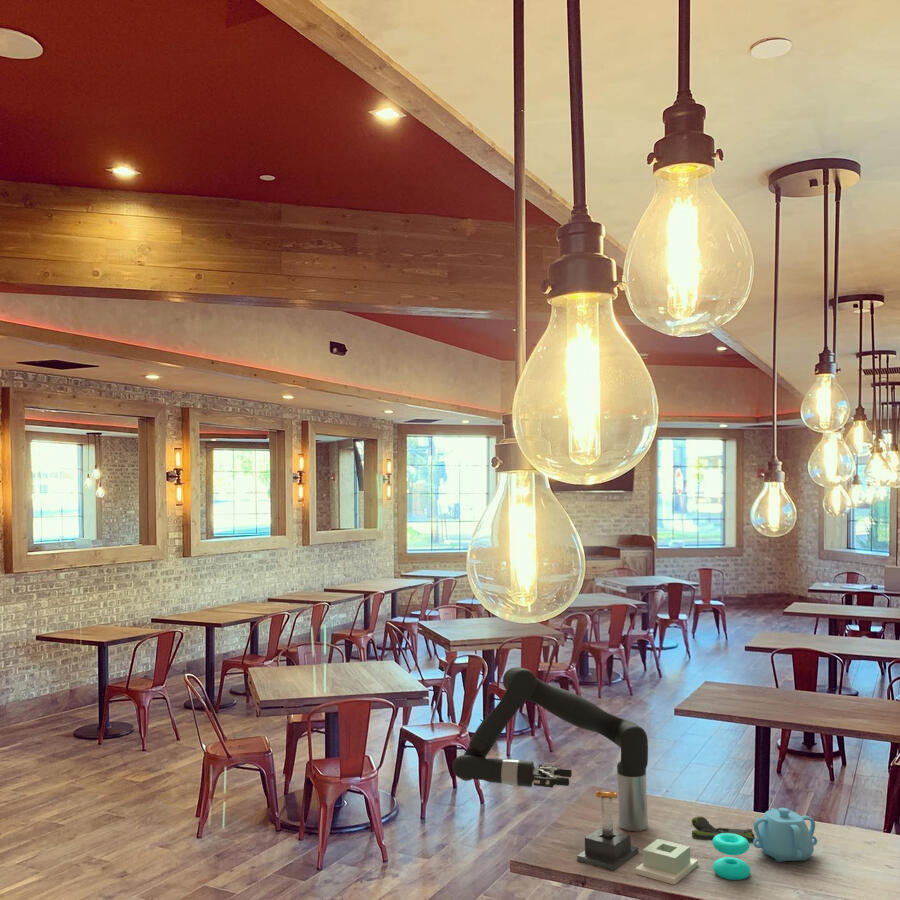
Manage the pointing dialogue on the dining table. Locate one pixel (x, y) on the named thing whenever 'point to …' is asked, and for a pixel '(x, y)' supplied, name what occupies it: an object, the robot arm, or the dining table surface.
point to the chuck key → (607, 813)
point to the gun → (717, 830)
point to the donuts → (730, 865)
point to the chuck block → (607, 850)
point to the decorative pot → (785, 835)
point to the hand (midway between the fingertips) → (570, 777)
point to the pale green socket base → (666, 861)
